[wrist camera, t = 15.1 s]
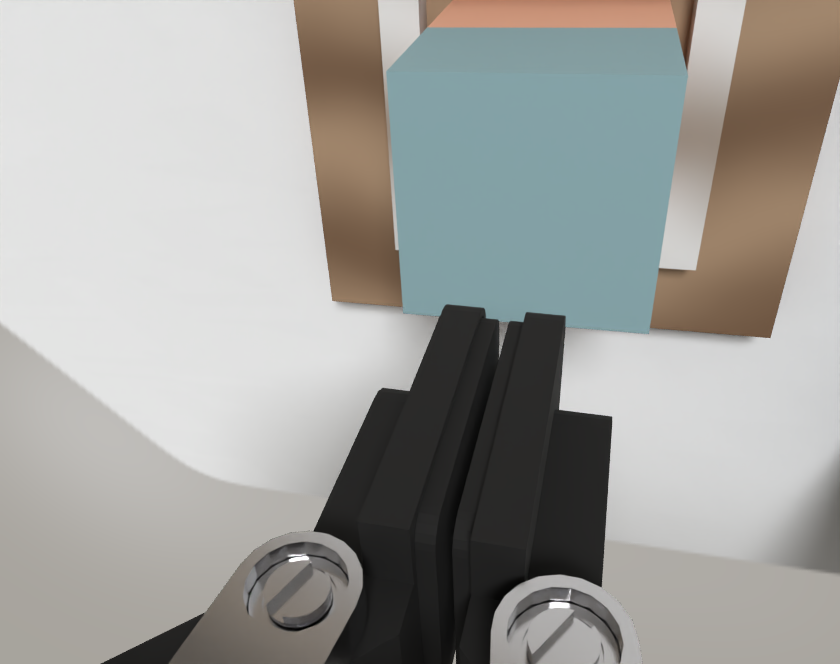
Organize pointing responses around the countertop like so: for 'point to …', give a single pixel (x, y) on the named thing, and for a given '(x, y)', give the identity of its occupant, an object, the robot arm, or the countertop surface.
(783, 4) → the walnut board
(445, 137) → the teal and orange block
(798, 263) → the countertop surface
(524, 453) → the robot arm
